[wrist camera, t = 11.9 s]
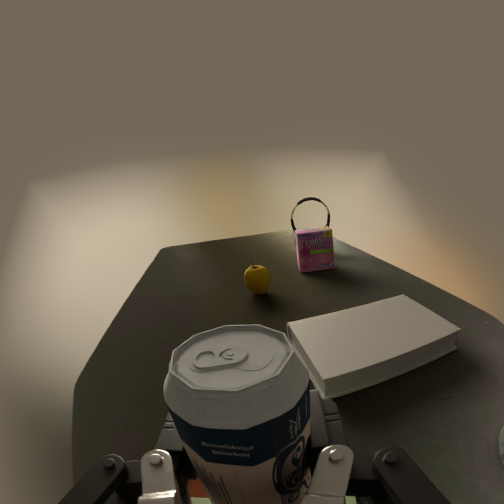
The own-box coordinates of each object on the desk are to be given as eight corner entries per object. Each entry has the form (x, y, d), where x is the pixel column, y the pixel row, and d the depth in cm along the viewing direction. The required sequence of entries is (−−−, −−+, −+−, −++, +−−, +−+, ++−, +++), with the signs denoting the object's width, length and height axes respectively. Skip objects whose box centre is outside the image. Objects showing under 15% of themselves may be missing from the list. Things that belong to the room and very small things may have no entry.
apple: (248, 289, 78) (244, 260, 77) (272, 288, 77) (269, 258, 75) (243, 299, 72) (239, 267, 70) (269, 297, 71) (266, 266, 69)
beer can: (318, 535, 10) (332, 380, 7) (228, 552, 9) (144, 411, 6) (296, 477, 14) (285, 309, 11) (220, 490, 14) (164, 329, 11)
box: (300, 273, 86) (296, 233, 83) (297, 267, 91) (294, 229, 88) (334, 269, 85) (332, 229, 82) (330, 263, 91) (328, 226, 88)
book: (460, 328, 36) (323, 379, 33) (456, 349, 37) (323, 401, 34) (399, 292, 54) (285, 319, 51) (398, 309, 55) (287, 338, 52)
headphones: (290, 255, 106) (284, 199, 102) (326, 248, 109) (322, 194, 104) (299, 261, 98) (293, 200, 93) (338, 253, 101) (333, 195, 96)
